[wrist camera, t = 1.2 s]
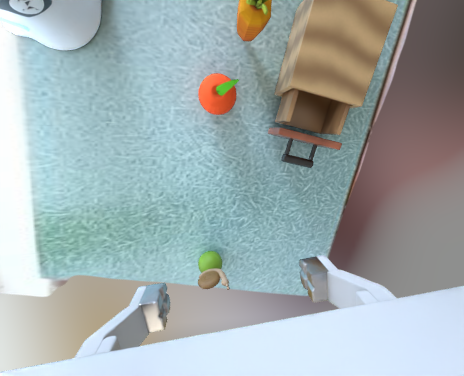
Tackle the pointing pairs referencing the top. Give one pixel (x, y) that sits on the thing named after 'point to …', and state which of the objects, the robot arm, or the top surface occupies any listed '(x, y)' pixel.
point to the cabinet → (335, 48)
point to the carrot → (252, 17)
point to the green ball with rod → (211, 271)
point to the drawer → (309, 122)
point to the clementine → (217, 93)
